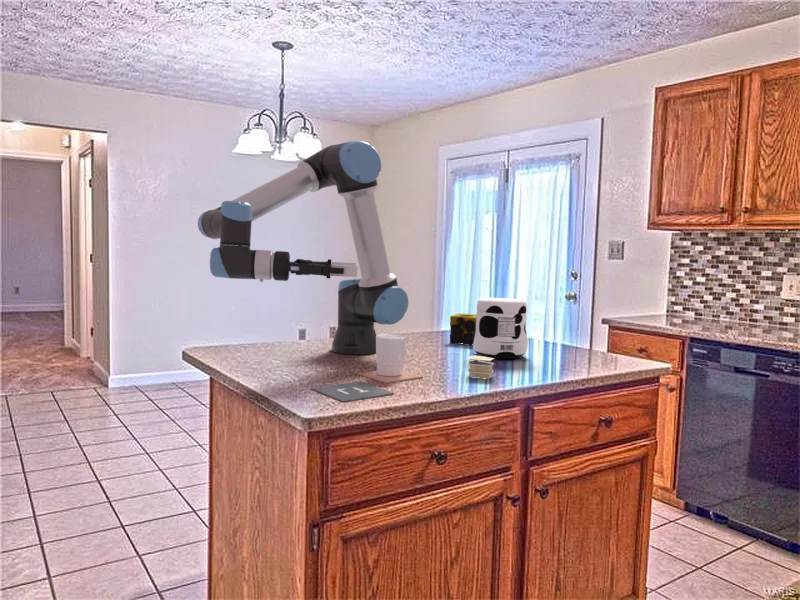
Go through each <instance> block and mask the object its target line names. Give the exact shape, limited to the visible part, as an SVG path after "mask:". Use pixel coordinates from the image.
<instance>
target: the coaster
mask: <svg viewBox="0 0 800 600" xmlns="http://www.w3.org/2000/svg"><path fill="white" fill-rule="evenodd" d="M358 375H359V376H363V377H366V378H369V379H371V380H375V381H377V382H381V383H384V384H390V383H397V382H403V381H411V380H417V379H423V377H424V376H422V375H419V374H416V373H412V372H409V371H404V370H402V375H399V376H382V375H379V374H377V370H372V371H365V372H364V371H362V372H358Z"/></svg>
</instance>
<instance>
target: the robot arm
mask: <svg viewBox="0 0 800 600" xmlns="http://www.w3.org/2000/svg"><path fill="white" fill-rule="evenodd" d="M381 160H382V159H381V157H380V155H379V152H378V151H377V149H376V148H375V147H374V146H373V145H371V144H370V143H368V142H367V141H363V140H349V141H347V142H342V143H338V144H331V145H329V146H326V147H324V148H323V149H321V150H319V151H317V152H316V153H314V154H311V156H309V157H307V158H305V159H303V160H301V161H300V162H298V163H297V166H296V168H295V167H294V168H293V169H292V170H289V171H287V172H285V173H284V174H282V175H280V176H278V177H276V178H274V179H272V180H270V181H268V182H266V183H264V184H262V185H260V186H258V187H256V188H254V189H252V190H249V192H246V193H244V194H243V195H240V196H238V197H237V198H234V199H232V200H224V201H222V202H221V205H220V206H219V207H217V208H215V209H209V210H207V211H204V212H203V213H202V214H200V215H199V217H198V220H197V228H198V231H199V232H200V233H201V234H202V236H204V237H206V238H209V239H213V240H217V239H218V240H219V239H220V240H219V247H213V248H212V249H211V251H210V257H209V270H210V273H211V275H212V276H214V277H216V278H221V279H222V278H224V279H236V280H237V279H238V280H239V279H240V280H241V279H242V280H258V279H259V282H260V283H263V282H264V280H266V281H267V280H268V281H271V280H272V279H273V280H274V281H280V282H281V281H282V282H283V281H284V282H287V281H288V280H289V278H290V274H295V276H305V275H306V276H310V275H312V276H323V277H325V278H326V279H331V277H346V278H347V277H351V278H350V279H343V280H341V281H340V282H339V283H338V290H337V295H338V296H337V297H338V299H337V301H338V302H337V327H336V331H335V333H334V336H333V339H332V342H331V351H332V352H334V353H336V354H337V353H338V354H343V355H371V354H376V336H377V334H376V330H375V324H379V325H394V324H397V323H399V322H400V321H401V320H402V319H403V318H404V317H405V314H406V313H407V311H408V308H409V296H408V294H407V292H406V291H405V290H404V289H403V288H402V286H399V284H398V283H399V282H398V278H397V275H395V274H394V273H393V272H391V270H390V266H389V260H388V256H387V250H386V246H385V241H384V237H383V236H384V235H383V230H382V227H381V222H380V221H381V220H380V216H379V212H378V207H377V202H376V196H375V191H376V190H377V188H378V180H377V178H378V177H379V175H380V172H381V170H382V161H381ZM333 186H336V190H337V194H338V195H339V196H341V197H342V198H343V199H344V201H345V206H346V211H347V214H348V215H347V216H348V219H349V220H348V221H349V225H350V228H351V229H350V231H351V234H352V237H353V243H354V247H355V251H356V257H357V261H358V265H359V267H358V265H357V264H356V262H344V261H343V262H339V261H332V259H331V258H330V259H327V260H326V261H315V260H314V261H313V260H311V259H302V258H297V259H295V260H293V261H291V260H290V259H291V255H290V254H291V253H290V252H289V251H284V250H283V251H282V250H276V251H273V250H267V249H251V241H252V239H251V238H252V237H251V236H252V222H254V221H257V220H258V219H259V218H262V217H264V216H266V215H268V214H269V213H271V212H273V211H274V210H276V209H278V208H280V207H283V206H285V204H288V203H290V202H292V201H293V200H295V199H297V198H299V197H300V196H302V195H304V194H306V193H308V192H311V193H316V192H318V191H320V190H322V189H325V188H328V187H333ZM358 268H359V270H360V276H361V278H357V277H358Z"/></svg>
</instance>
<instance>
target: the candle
mask: <svg viewBox="0 0 800 600" xmlns="http://www.w3.org/2000/svg"><path fill="white" fill-rule="evenodd" d="M476 314H477V313H476ZM476 314H475V313H456V314H452V315H450V316H449V320H450V322H449V325H450V326H449V327H450V329H449V330H450V334H449V343H450V342H451V343H450V344H455V343H463V344H462V345H465V344H473V335H474V332H475V328H476Z"/></svg>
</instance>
